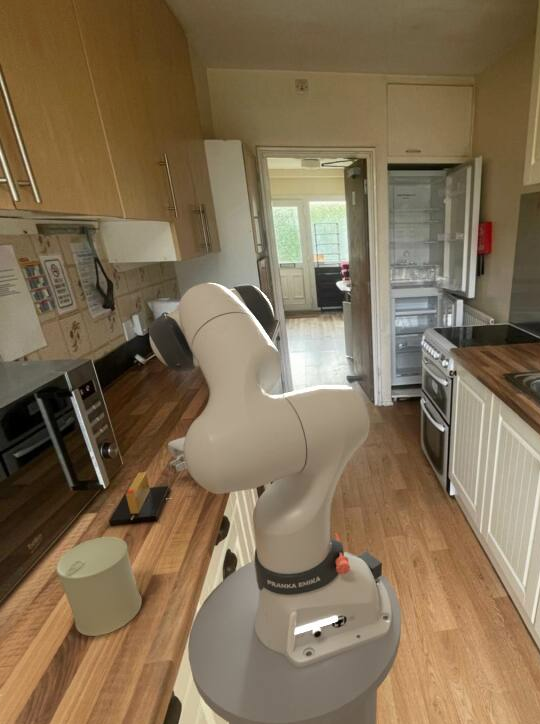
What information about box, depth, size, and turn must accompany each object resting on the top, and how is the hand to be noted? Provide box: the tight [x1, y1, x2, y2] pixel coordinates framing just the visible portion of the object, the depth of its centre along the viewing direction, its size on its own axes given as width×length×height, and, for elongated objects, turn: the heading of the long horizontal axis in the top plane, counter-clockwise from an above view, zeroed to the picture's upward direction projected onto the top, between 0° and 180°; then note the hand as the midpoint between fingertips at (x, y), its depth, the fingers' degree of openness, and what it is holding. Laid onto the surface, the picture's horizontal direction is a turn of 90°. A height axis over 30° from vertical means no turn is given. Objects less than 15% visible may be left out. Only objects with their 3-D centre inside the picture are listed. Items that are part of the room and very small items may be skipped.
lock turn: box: [125, 471, 151, 514], centre depth 94 cm, size 9×2×5 cm, turn 13°
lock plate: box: [107, 485, 174, 527], centre depth 95 cm, size 13×13×2 cm
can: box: [55, 536, 143, 637], centre depth 67 cm, size 9×9×12 cm
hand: (173, 467), depth 102 cm, fingers closed
